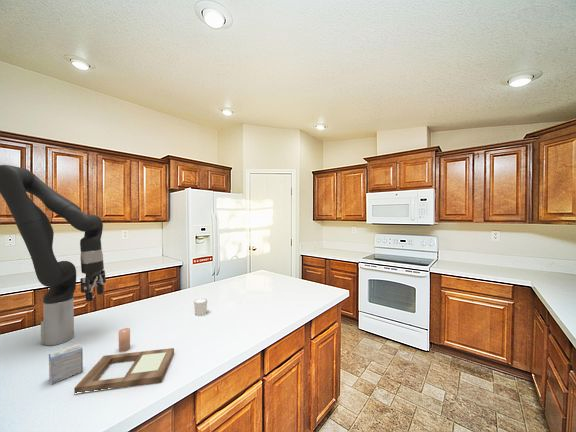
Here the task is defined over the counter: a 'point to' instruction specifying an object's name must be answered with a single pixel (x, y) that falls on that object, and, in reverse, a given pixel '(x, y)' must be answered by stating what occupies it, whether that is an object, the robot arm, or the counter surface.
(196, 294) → the counter surface
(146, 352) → the hole board
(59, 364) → the medicine box
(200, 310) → the white candle
